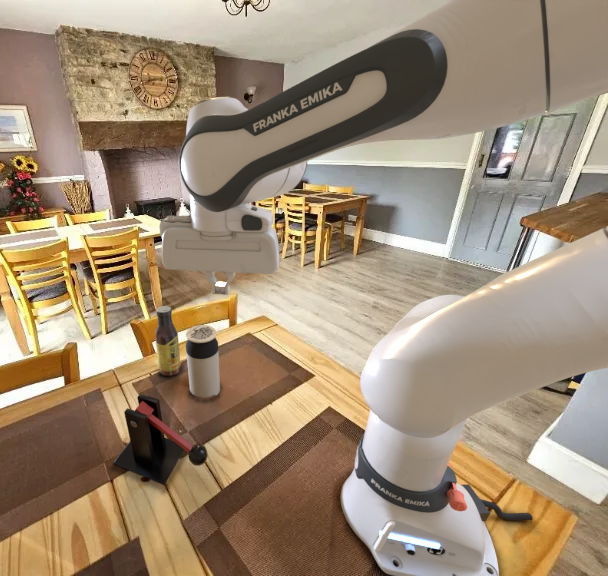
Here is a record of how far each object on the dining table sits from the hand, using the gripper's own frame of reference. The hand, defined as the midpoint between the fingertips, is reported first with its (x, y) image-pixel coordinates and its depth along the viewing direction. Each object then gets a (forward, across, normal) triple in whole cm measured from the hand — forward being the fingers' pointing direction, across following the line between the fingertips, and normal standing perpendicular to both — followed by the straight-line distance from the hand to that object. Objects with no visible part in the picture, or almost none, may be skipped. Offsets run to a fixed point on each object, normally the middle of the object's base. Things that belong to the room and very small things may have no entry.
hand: (221, 293), depth 56 cm
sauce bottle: (+34, -20, +18) cm, 44 cm away
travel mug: (+35, -8, +12) cm, 38 cm away
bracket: (+35, -14, -9) cm, 39 cm away
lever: (+27, -9, -10) cm, 30 cm away
